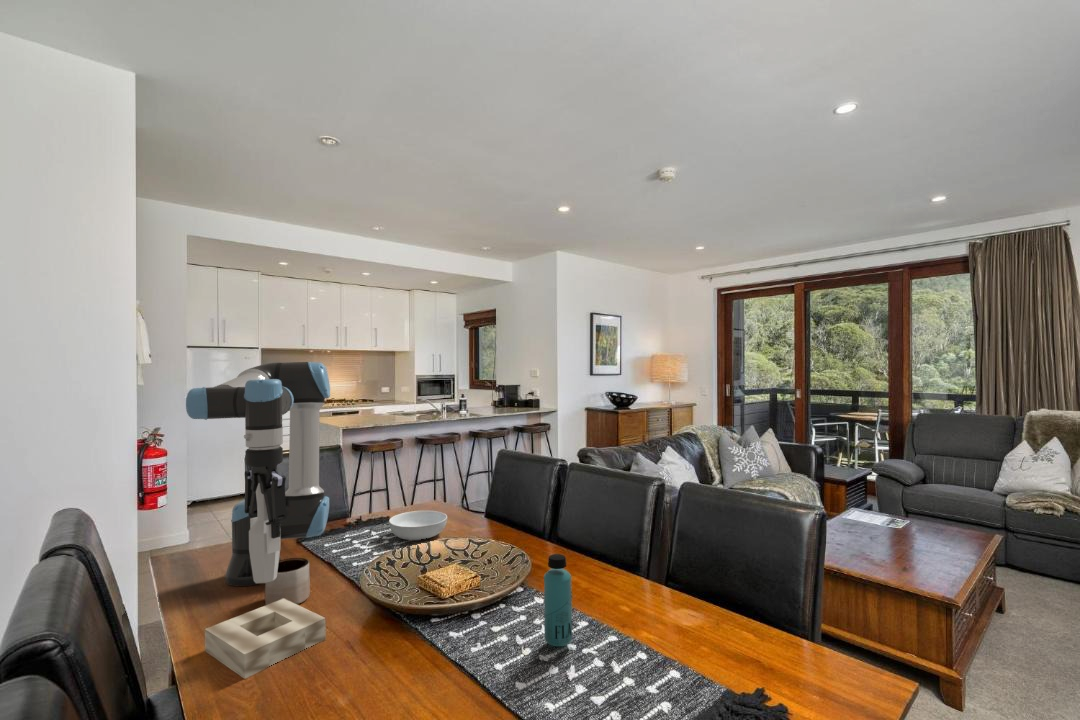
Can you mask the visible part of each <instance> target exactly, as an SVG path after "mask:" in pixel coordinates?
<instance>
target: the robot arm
mask: <svg viewBox="0 0 1080 720" xmlns="http://www.w3.org/2000/svg"><path fill="white" fill-rule="evenodd" d="M330 384H331V383H330V380H329V373H328V370H327V368H326V365H325V364H324V363H322V362H313V361H301V362H300V361H297V362H295V361H294V362H291V361H290V362H269V363H263V364H260V365H256V366H253V367H251V368H247V369H245V370H243V371H241V372H240V373H239V374H238V375H237V376H236V377H235V378H233V379H229V380H227V381H226V382H223V383H220V384H218V385H216V386H213V387H206V386H203V387H196V388H195V387H194V388H191V389H190V390H189V391H188V392H187V395H186V399H185V409H186V414H187V416H188V417H189V418H190V419H192V420H206V421H207V420H214V419H218V420H219V419H241V418H242V419H243V418H244V420H245V421H244V424H245V425H244V426H245V427H244V429H245V432H244V433H245V434H244V435H243V439H245V447H246V448H247V449H246V450H245V456H244V457H245V462H244V463H245V465H246V467H250V468H251V470H250V469H249V470H246V471H244V480H245V481H244V482H245V484H244V485H245V486H244V487H245V489H244V500H242V501H239V502H237V503H236V504H235V505H234V506H233V508H232V511H231V519H230V520H231V544H232V545H231V546H232V549H231V550H232V551H231V557H230V560H229V562H228V566H227V569H226V572H225V583H226V584H227V585H229V586H231V587H232V586H233V587H247V586H256V585H259V584H261V583H255V582H254V580H253V573H252V566H251V559H250V553H249V530H250V529H251V528H252V526H253V525H254V523H255V522H256V520H257V498H256V489H257V486H258V483H260V489H261V493H262V494H264V498H265V504H266V509H267V515H268V520H269V522H267V523H266V531H267V554H270V553H273V552H276V551H280V552H281V546H280V539H281V540H290V539H300V538H305V539H308V538H310V537H318V536H321V535H322V534H323V533H324V532H325V529H326V527H327V524H328V523H327V522H328V518H329V512H330V496H325V490H324V489H323V488H322V487H321V486H320V409H322V407H324V405H325V404H326V403H325V402H326V399H329V398H330V397H331V385H330ZM287 413H289V447H288V449H289V454H288V456H289V458H288V489H287V490H286V487H285V486H286V479H287V477H286V476H285V475H279V471H278V465H279V464H280V465H281V464H282V463H283V462H284V458H283V457H284V455H283V453H284V449H283V447H282V445H283V443H284V439H283V437H284V436H283V434H284V433H283V430H284V429H283V416H284V415H285V414H287ZM269 488H271V489H269ZM279 560H282V558H281V556H280V555H279Z"/></svg>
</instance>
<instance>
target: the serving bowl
mask: <svg viewBox="0 0 1080 720" xmlns="http://www.w3.org/2000/svg"><path fill="white" fill-rule="evenodd" d="M447 521H448V515H447V514H446V513H444V512H441V511H436V510H414V511H413V510H412V511H406V512H402V513H399V514H396V515H394V516H391V517H390V518H389V520H388V524H389V525H388V526H389V528H390V531H391V532H392V533H393V534H394V535H395V536H396V537H397V538H400V539H403V540H408V541H422V540H421V539H424V540H427V539H430V538H432V537H436V536H437V535H439V534H441V532H442V531H444V528H445V527H446V526H447ZM426 538H427V539H426Z"/></svg>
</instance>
